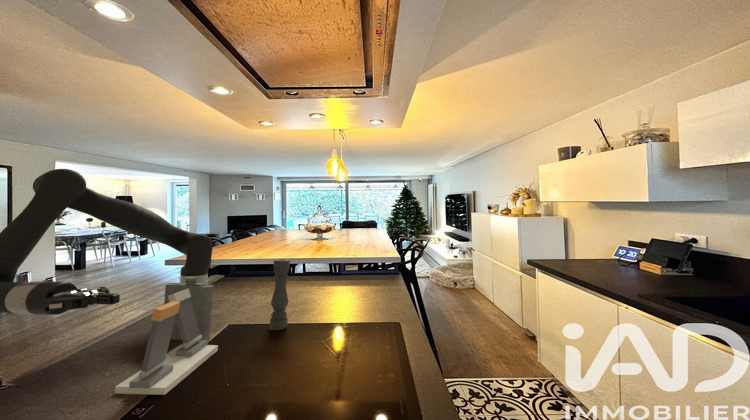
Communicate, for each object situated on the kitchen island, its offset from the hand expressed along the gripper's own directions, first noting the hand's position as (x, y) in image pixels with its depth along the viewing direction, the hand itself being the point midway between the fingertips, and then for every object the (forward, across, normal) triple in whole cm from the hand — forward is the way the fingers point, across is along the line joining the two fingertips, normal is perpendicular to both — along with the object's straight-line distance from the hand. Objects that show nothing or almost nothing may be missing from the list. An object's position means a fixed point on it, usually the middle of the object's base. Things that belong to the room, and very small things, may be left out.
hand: (117, 298), depth 67 cm
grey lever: (+10, +14, +16) cm, 24 cm away
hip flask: (+1, +26, +20) cm, 33 cm away
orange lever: (+10, -1, +16) cm, 18 cm away
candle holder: (+27, +37, +21) cm, 51 cm away
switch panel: (+10, +7, +20) cm, 23 cm away
